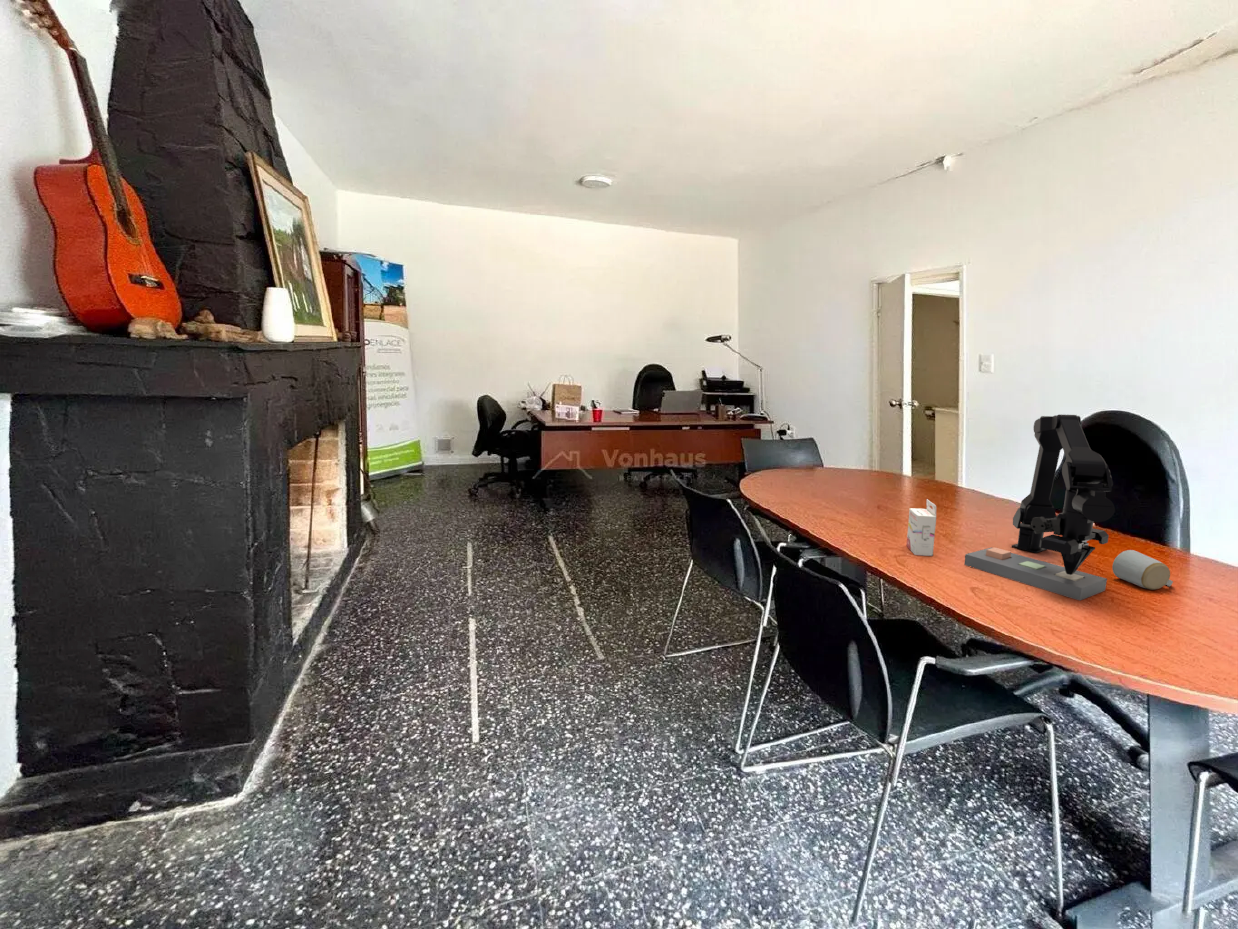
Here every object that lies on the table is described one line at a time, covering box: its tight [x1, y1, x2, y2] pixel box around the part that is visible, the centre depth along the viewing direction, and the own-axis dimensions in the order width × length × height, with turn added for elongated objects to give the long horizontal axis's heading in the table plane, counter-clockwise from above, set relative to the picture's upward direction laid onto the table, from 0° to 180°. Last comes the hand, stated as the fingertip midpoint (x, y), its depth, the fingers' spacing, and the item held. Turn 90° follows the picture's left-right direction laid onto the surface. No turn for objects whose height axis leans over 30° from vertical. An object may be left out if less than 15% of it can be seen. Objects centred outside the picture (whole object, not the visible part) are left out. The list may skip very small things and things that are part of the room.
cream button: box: [1055, 571, 1084, 581], centre depth 132 cm, size 4×4×2 cm
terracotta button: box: [986, 547, 1012, 560], centre depth 146 cm, size 4×4×2 cm
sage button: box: [1019, 561, 1045, 570], centre depth 139 cm, size 4×4×2 cm
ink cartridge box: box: [906, 498, 937, 557], centre depth 158 cm, size 9×5×15 cm, turn 168°
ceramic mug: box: [1111, 549, 1174, 591], centre depth 134 cm, size 11×8×8 cm
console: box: [963, 547, 1108, 601], centre depth 139 cm, size 12×26×3 cm, turn 27°
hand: (1069, 574), depth 132 cm, fingers closed
